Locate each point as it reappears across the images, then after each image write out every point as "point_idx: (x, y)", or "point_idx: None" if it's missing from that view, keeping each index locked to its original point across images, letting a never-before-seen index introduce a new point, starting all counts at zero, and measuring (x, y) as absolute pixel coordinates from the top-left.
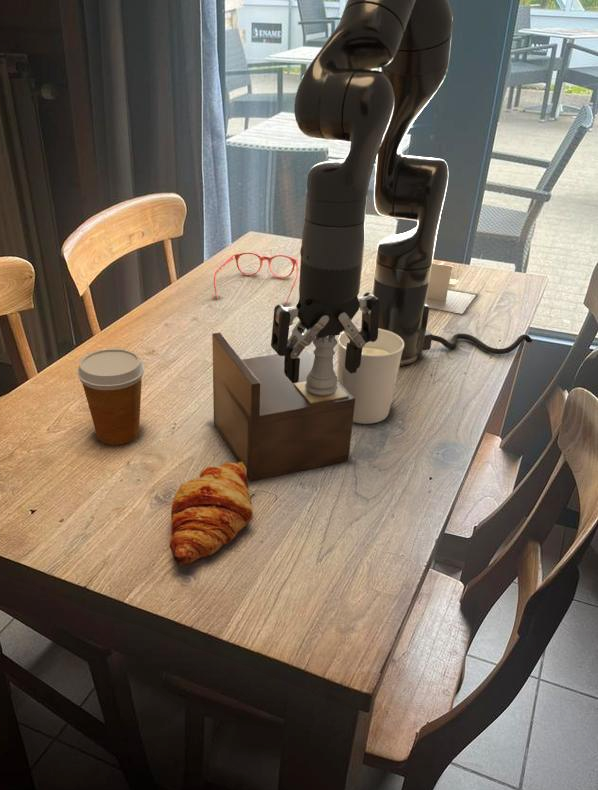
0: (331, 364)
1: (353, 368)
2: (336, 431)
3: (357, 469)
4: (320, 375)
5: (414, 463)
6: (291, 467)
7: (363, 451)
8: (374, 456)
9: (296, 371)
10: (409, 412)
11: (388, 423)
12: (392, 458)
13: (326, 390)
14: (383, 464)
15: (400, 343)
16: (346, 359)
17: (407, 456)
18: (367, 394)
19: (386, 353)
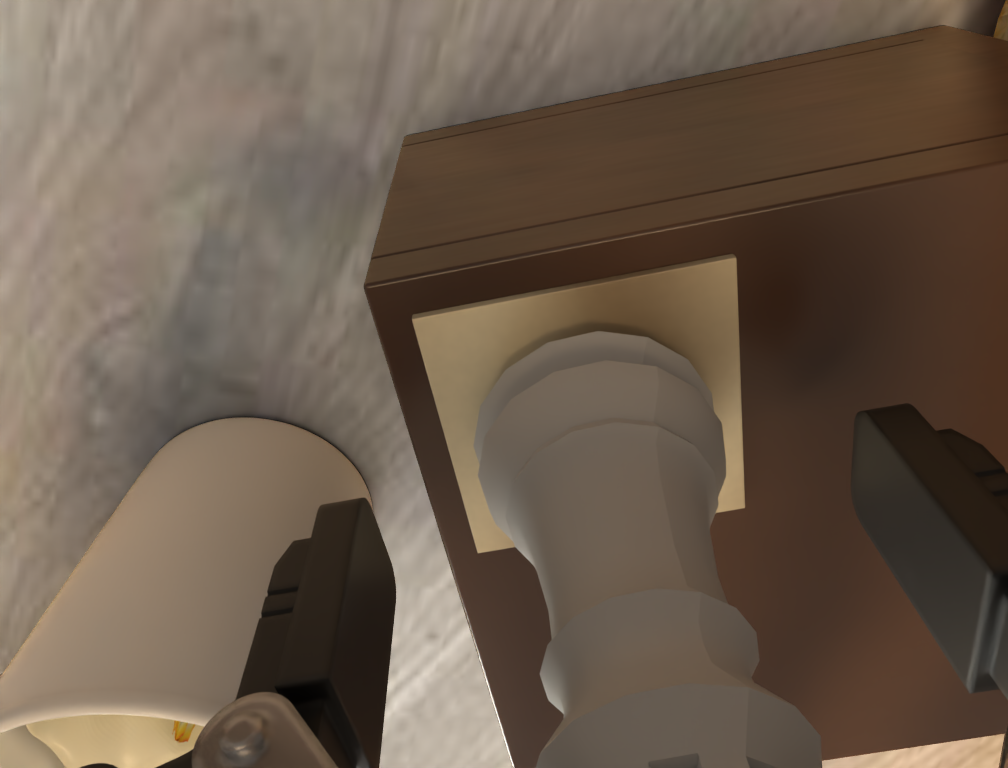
0: (571, 542)
1: (345, 525)
2: (492, 175)
3: (370, 54)
4: (664, 457)
5: (51, 66)
6: (727, 78)
7: (309, 210)
8: (261, 160)
9: (944, 467)
10: (48, 478)
11: (155, 412)
12: (168, 129)
13: (591, 360)
14: (223, 81)
15: None
16: (385, 631)
17: (85, 137)
18: (233, 513)
19: (79, 765)
